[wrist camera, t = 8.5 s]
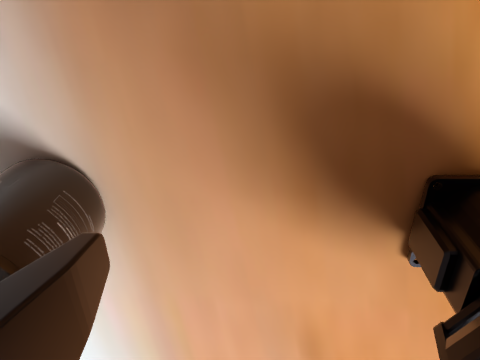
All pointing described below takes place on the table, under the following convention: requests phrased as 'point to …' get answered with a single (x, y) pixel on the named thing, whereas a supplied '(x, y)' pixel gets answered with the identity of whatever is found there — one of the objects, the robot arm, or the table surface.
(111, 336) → the table surface
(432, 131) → the table surface
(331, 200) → the table surface
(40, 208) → the supplement bottle
